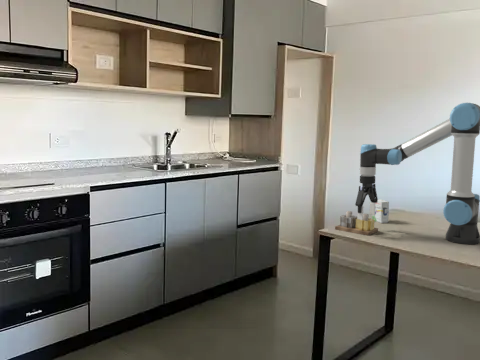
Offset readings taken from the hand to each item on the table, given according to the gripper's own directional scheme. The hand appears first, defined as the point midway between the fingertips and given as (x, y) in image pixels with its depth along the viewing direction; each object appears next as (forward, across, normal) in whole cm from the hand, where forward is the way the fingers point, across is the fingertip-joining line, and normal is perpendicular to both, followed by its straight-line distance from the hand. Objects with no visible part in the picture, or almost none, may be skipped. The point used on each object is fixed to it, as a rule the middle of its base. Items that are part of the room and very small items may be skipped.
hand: (366, 217), depth 250 cm
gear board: (+7, 0, -5) cm, 9 cm away
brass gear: (+6, 0, -1) cm, 6 cm away
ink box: (+8, -29, -6) cm, 30 cm away
